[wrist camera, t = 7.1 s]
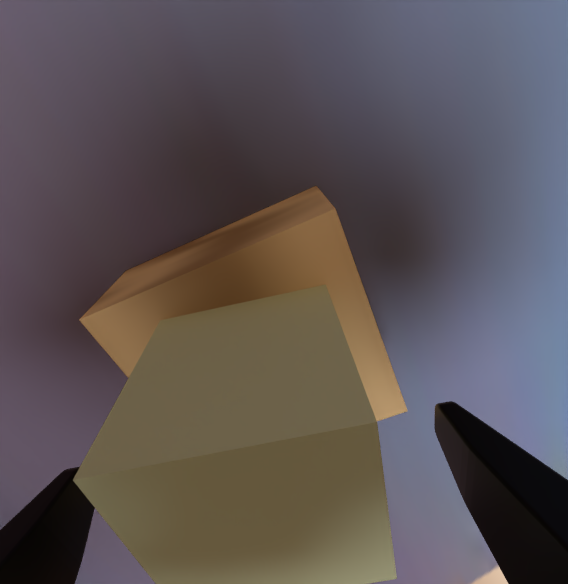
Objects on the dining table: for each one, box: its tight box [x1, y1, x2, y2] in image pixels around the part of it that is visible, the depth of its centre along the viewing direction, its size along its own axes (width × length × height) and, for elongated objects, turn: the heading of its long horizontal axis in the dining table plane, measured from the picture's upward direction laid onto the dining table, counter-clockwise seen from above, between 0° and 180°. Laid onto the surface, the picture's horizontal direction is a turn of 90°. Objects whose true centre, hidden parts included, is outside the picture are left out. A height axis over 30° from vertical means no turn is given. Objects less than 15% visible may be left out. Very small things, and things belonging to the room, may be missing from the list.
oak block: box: [79, 186, 407, 421], centre depth 13 cm, size 8×8×4 cm
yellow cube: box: [73, 285, 397, 584], centre depth 9 cm, size 5×5×5 cm
